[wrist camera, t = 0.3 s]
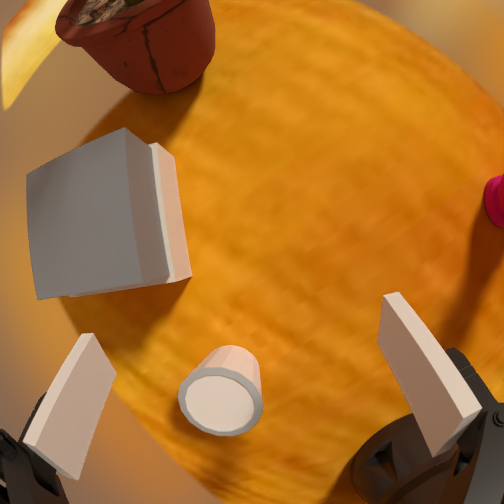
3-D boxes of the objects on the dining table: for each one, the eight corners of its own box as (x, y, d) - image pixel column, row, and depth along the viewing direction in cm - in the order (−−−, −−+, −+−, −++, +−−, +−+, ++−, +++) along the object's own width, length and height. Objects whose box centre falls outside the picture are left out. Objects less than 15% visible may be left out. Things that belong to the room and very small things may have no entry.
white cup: (197, 393, 27) (178, 429, 20) (199, 334, 27) (176, 360, 20) (262, 402, 26) (258, 441, 19) (269, 342, 26) (267, 372, 19)
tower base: (193, 275, 27) (176, 281, 22) (95, 291, 28) (68, 298, 23) (175, 158, 27) (156, 142, 22) (83, 188, 28) (56, 180, 23)
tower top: (170, 275, 22) (143, 282, 17) (71, 292, 23) (37, 300, 18) (151, 148, 22) (125, 127, 17) (59, 183, 23) (26, 174, 18)
